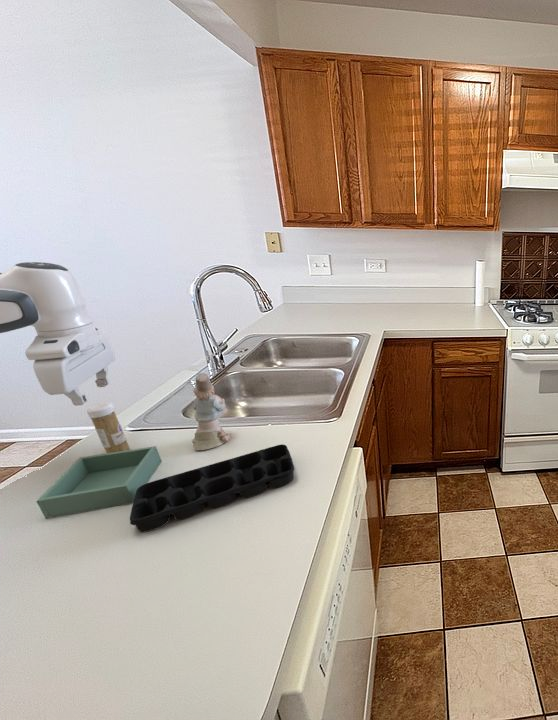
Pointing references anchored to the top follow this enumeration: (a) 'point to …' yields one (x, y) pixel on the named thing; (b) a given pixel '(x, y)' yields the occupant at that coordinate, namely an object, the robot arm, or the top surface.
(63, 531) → the top surface
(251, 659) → the top surface
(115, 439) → the sprinkles bottle
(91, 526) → the top surface
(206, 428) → the figurine
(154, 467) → the bin
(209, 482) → the egg carton
